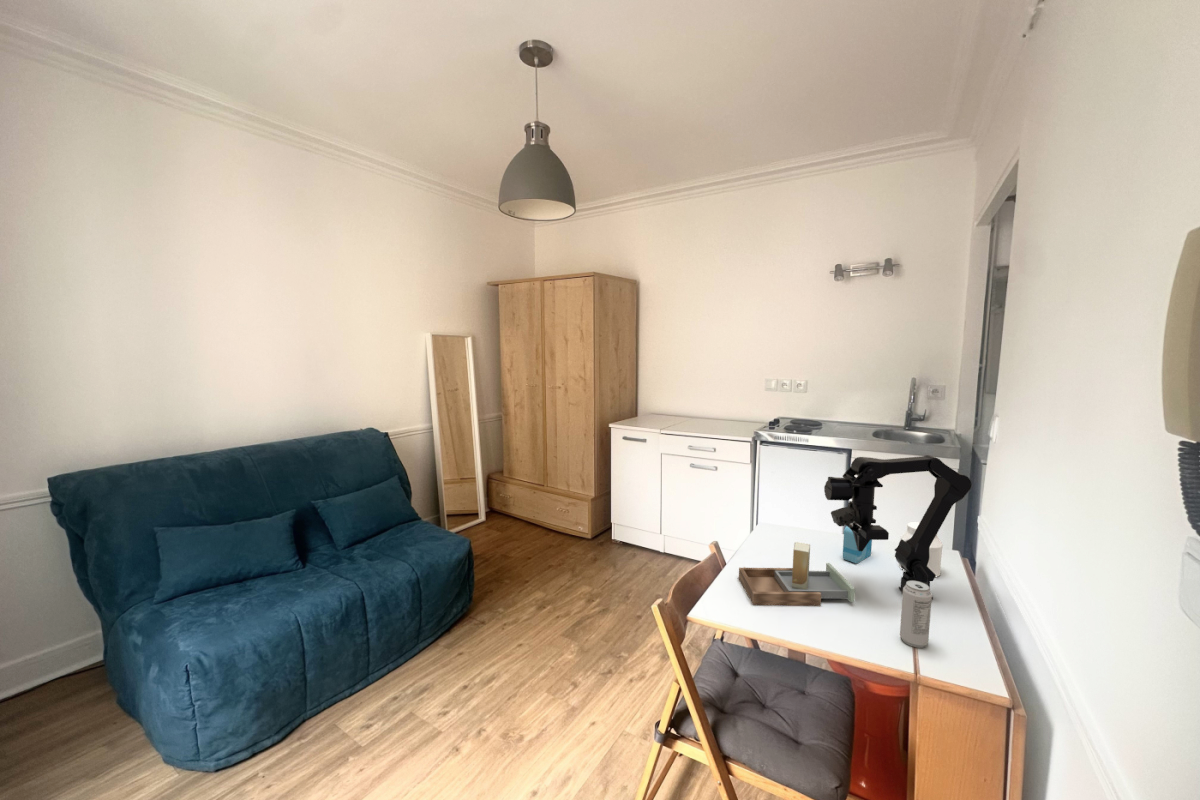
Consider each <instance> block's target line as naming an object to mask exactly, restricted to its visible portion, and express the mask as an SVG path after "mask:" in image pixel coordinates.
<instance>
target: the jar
mask: <svg viewBox="0 0 1200 800" xmlns="http://www.w3.org/2000/svg"><path fill="white" fill-rule="evenodd" d="M920 522H921V521H920ZM920 522H919V521H912V522H908V523H907V527H906V528H907V529H906V530H905V532H904V533H903V534H901V536H900V540H901V539H902V540H904V541H907V540H909V539H910V538H912V536H913V534H914V532H915V531H916V529H917V527H918V525H919V523H920ZM943 546H944V544H943V542H942V541H941V540H940V538H939V536H938V533H937V534H936V536H935V538H934V540H933V542H932V543H931V545H930V548H929V556H930V559H929V562H928V565H927V567H928V568H929V569H930V570H931V571H932V572H933V573H934V574H935V575H936V576H939V575H940V576H941V574H940V573H941V572H942V571H941V565H942V551H943ZM899 566H900V567H901V565H900V564H899V563H898V567H899ZM900 567H899V568H900ZM902 569H903V568H902ZM902 569H901V570H902ZM936 576H935V577H936ZM940 576H939V577H940ZM936 578H937V577H936Z"/></svg>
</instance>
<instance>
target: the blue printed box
mask: <svg viewBox="0 0 1200 800" xmlns="http://www.w3.org/2000/svg"><path fill="white" fill-rule="evenodd" d="M842 543H843V544H842V559H843V560H845V561H847V562H851V563H853V564H856V563H857V564H859V563H860V561H861V562H862V561H863V560H865V558H866V559H868V558H869V557H870V556H871V554H872V545H873V540H870V541H869V543H868V544H867V545H866V547H865V548H864V550H863V551H858V550H857V546H856V542H855V538H854V535H853V532H852V530H851V529H850V528H849V527H847V525H846V526H844V529H843V541H842Z"/></svg>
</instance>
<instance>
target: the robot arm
mask: <svg viewBox="0 0 1200 800" xmlns="http://www.w3.org/2000/svg"><path fill="white" fill-rule="evenodd" d="M922 472H928V473H930V474H931V476H933V477H934V478H935V479H936V480H935V483H934V486H933V487H934V494H933V495H934V496H933V498H932V500H931V502H930V504H929V505H928V507H927V509H926V511H925V513H924V514H923V516H922V518H921V520H920V523H919V525H918V527H917V529H916V531H915V532H914V534H913V536H912V538H910V539H909V540H907V541H904V540H902V539H901V538H900V540H899V543H898V544H897V547H896V548H894V551H895V553H894V557H895V560H896V562H897V563H898V565H899V564H900V565H901V568H903V569H904V570H905V571H903V572H902V576H901V578H900V586H898V589H899V590H900V591H901V592H902V593H903V587H904V586H905V585H906V582H907V581H919V582H922V583H924V584H926V585H928V586H929V590H930V589H931V588H930V587H931V582H933V581H934V580H935V576H936V575H935V574H934V573H933V572H932V571H931V570H930V569H929V568H928V567H927V565H928V562H929V559H930V556H929V548H930V545H931V543H932V542H933V540H934V538H935V536H936V534H937V535H938V532H939V531H940V529H941V527H942V525H943V524H944V522H945V520H946V518H947V516H948V515H949V513H950V511H951V510H952V508H953V507H954V505H955V504H956V503H958V502H960V501H961V500H963V499H964V498H965V497H966V496H967V494H968V493H969V492H970V491H971V490H972V487H973V483H972V482H971V478H970V477H968V476H967V475H965V474H963V473H960V472H957V471H956V470H954V469H953V468H951V467H950V466H948V465H947V464H945V463H944V462H943V461H942V460H941V459H940V458H937V457H935V456H933V455H929V454H928V455H927V454H926V455H923V456H914V457H911V456H910V457H899V458H897V457H896V458H887V459H886V458H885V459H882V458H877V457H876V458H875V457H869V456H867V457H866V456H858V457H856V458H854V459H853V461H852V463H851V465H850V466H849V468H848V469H847V470H846V471H845V472H844V473H843V475H842V477H836V476H828V477H827V481H826V482H825V484H824V486H823V488H824V490H823V491H824V496H825V499H826V500H827V501H848V502H847V506H845V507H841V508H837V509H834V510H832V511H831V512H830V515H831V518H832V522H833V523H834V524H836V525H837V526H838V527H845V525H846V526H847V527H849V528H850V529H851V530H852V532H853V535H854V538H855V542H856V546H857V550H858V551H863V550H864V548H865V547H866V545H867V544H868V543H869V541H870V540H872V541H875V540H876V541H879V540H880V541H888V540H889V537H890V536H889V534H890V533H889V531H888V530H887V529H885V528H884V527H882V526H881V525H880V524H879V525H878V524H877V519H875V518H874V511H878V510H877V509H878V507H877V505H875V490H876V488H883V487H884V485H883V484H882V483H881V482H880V481H879V479H882V478H884V477H886V476H889V475H896V474H898V475H899V474H909V473H922ZM850 500H851V501H850ZM874 524H875V525H874ZM876 524H877V525H876ZM931 600H933V596H932V599H931Z"/></svg>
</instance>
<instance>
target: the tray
mask: <svg viewBox="0 0 1200 800" xmlns="http://www.w3.org/2000/svg"><path fill="white" fill-rule="evenodd" d="M825 564H826V565H825V570H809V580H808V588H807V590H802V589H798V588H793V587H792V574H793V571H774V578H775V579H776V580H777V582H778V583H779V585H780V586H781V588H782V589H783V591H784V592H820V593H821V599H839V600H841V599H844V600H845V599H847V600H848V601H849V602H850V603H854V602H855V594H856V593H855V592H856V588H855V587H854V586H853V585H852V584H851V583H850V582H849V581H848V580H847V579H846V578H845V577H844V576H843V575H842V574H841V573H840V572H839V571H838V570H837V569H836V568H835V567H834V566H833V564H831V563H830V562H826V563H825Z"/></svg>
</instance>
